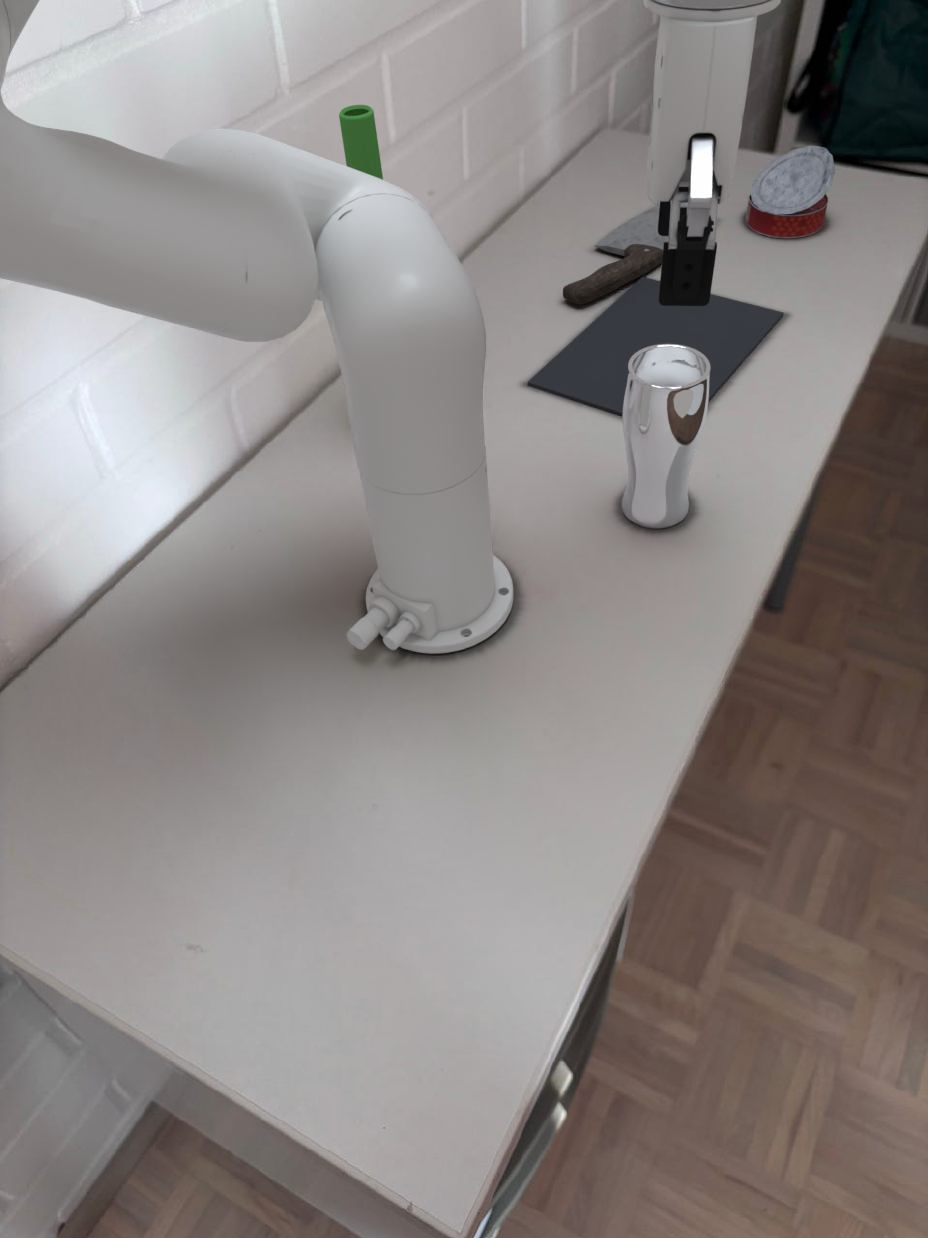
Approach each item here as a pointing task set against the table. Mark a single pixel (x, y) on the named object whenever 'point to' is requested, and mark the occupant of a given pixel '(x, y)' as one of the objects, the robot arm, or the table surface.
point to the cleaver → (640, 257)
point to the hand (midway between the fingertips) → (681, 267)
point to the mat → (652, 343)
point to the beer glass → (662, 430)
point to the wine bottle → (360, 139)
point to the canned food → (791, 194)
